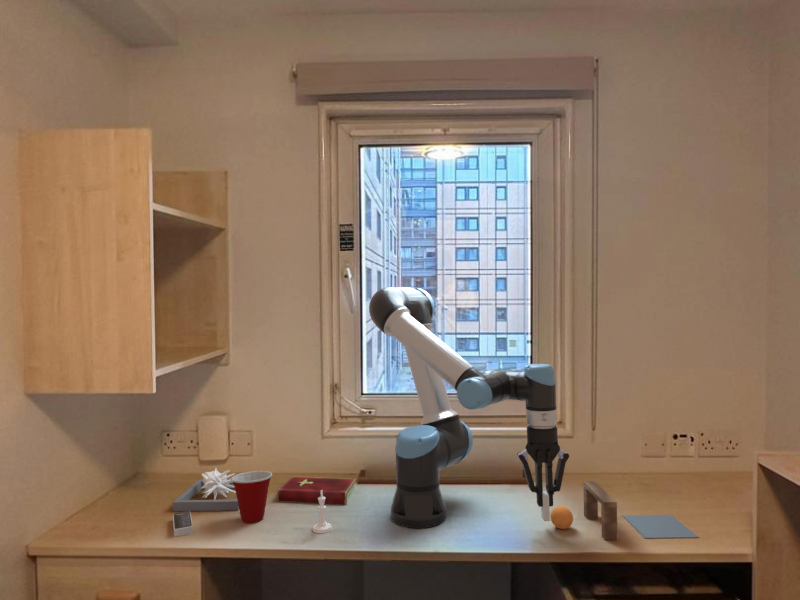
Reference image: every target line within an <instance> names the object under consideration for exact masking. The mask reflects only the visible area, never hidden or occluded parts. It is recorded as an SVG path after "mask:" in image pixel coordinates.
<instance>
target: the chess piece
mask: <svg viewBox="0 0 800 600" xmlns="http://www.w3.org/2000/svg"><path fill="white" fill-rule="evenodd" d="M320 494H321V497H318V501H319V503H318V504H319V505H318V506H317V509H318V510H319V519H318V522H317V523H315V524H314V525H313V526H312V532H314V533H315V534H325V533H326V534H327V533H329V532H331V530H332V529H333V527H332V524H331V523H329V522H327V521H326V516H325V509H326V508H327V506H326V505H325V499H326V498H325V497H324V496H323V490H321V492H320Z"/></svg>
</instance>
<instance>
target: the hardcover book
mask: <svg viewBox="0 0 800 600" xmlns="http://www.w3.org/2000/svg"><path fill="white" fill-rule="evenodd" d="M356 481H357V478H347V477H346V478H344V477H325V476H324V477H320V476H297V475H295V476H293V475H291V476H290V477H289V478H288V479H287V480H286V481H285V482H284V483H283V484H282V485H280V487H278V489H277V490H276V491H277V492H276V494H277V495H276V501H277V502H284V503H285V502H286V503H287V502H288V503H308V504H309V503H310V504H319V501H318V497H321V494H320V492H321V490H323V496H324V497H325V498H326V499H325V503H324V505H325V504H329V505H348V502H349V500H350V498H351V496H352V495H353V494H354V492H355V490H356Z"/></svg>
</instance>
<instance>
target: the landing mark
mask: <svg viewBox="0 0 800 600" xmlns="http://www.w3.org/2000/svg"><path fill="white" fill-rule="evenodd" d="M622 518H624V519H625V520H626V521H627V522H628V523H629V524H630V525H631V526H632V527H633V528H634V530H636V531H637V532H638V533H639V535H641V536H642V537H643V538H644V539H694V538H695V539H699V538H700V537H699V536H698V535H697V534H696V533H695V532H694V531H692V530H691V529H690V528H689V527H687V526H686V525H685V524H683V523H682V522H681V521H680V520H678V519H677V518H676V517H675V516H673V515H672V514H642V515H641V514H639V515H638V514H628V515H627V514H626V515H622Z"/></svg>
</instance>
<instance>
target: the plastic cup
mask: <svg viewBox="0 0 800 600" xmlns="http://www.w3.org/2000/svg"><path fill="white" fill-rule="evenodd" d="M272 477H273V473H272V472H271V471H266V470H255V471H254V470H253V471H246V472H241V473H238V474H234V475H233V476H231V478H230V479H231V480H232V481H233V483H234V487H235V489H234V491H235V492H236V493H235V495H236V497H237V501H238V506H239V510H238V511H239V515H240V519H241V521H242V522H243V523H244V524H255V523H259V522H261V521H262V520H264V516H265V512H266V511H265V510H266V506H267V498H268V495H269V494H268V493H269V488H270V487H269V486H270V482H271V479H272Z"/></svg>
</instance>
